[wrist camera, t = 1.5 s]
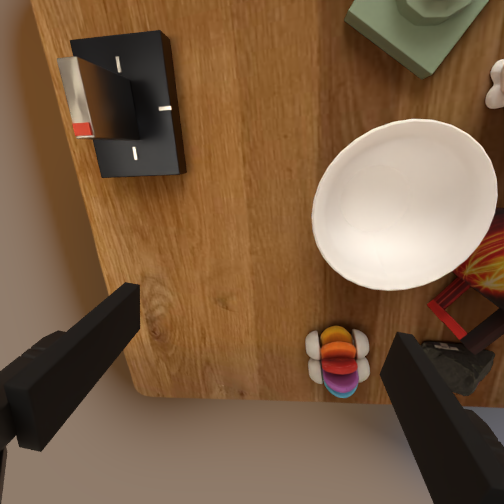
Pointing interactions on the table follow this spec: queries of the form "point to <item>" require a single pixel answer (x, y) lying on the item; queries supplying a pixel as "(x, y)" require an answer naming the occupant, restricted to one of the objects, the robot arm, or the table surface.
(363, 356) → the rainbow petal toy
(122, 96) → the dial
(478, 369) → the rock
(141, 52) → the control panel
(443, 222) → the bowl
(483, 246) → the mug
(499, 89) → the rabbit
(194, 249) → the table surface
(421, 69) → the button box
